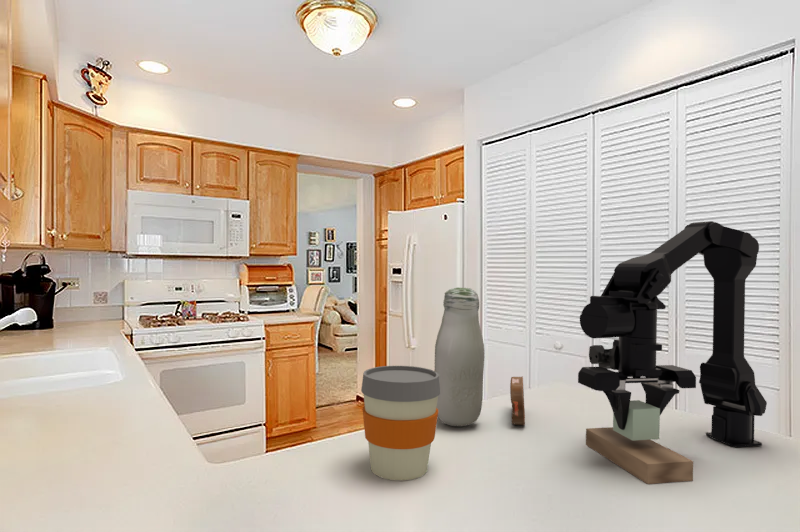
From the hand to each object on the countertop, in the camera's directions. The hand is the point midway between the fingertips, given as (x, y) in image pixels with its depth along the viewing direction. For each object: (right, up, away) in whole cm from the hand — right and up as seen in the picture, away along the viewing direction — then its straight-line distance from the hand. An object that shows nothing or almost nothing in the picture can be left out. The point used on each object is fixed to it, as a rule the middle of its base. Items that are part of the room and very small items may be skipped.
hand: (635, 428), depth 80 cm
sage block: (0, -1, 0) cm, 1 cm away
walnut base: (0, -6, 0) cm, 6 cm away
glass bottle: (-28, -5, +17) cm, 33 cm away
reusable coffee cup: (-40, -5, -5) cm, 41 cm away
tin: (-15, -6, +22) cm, 27 cm away
